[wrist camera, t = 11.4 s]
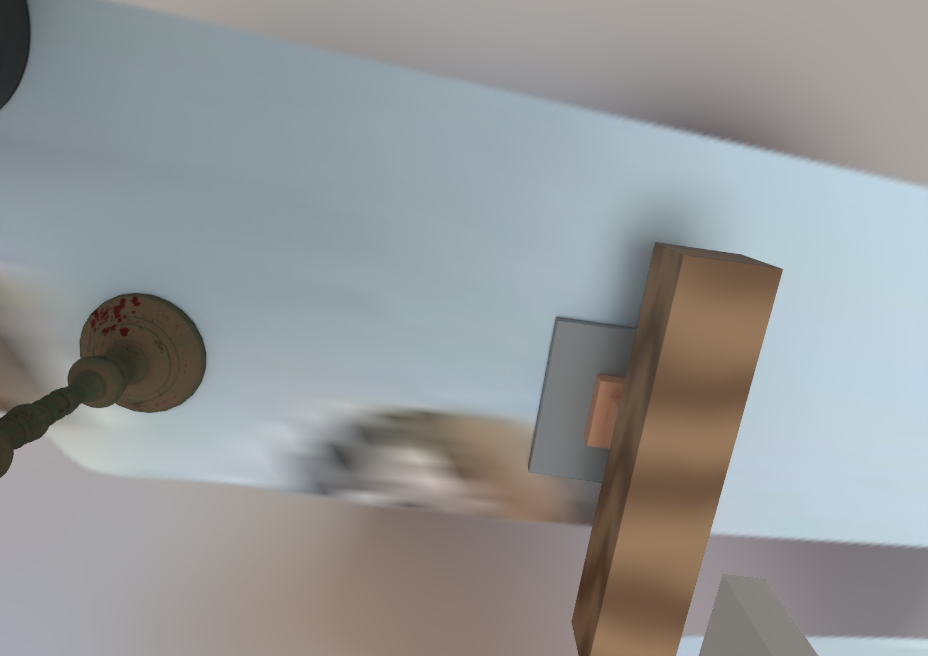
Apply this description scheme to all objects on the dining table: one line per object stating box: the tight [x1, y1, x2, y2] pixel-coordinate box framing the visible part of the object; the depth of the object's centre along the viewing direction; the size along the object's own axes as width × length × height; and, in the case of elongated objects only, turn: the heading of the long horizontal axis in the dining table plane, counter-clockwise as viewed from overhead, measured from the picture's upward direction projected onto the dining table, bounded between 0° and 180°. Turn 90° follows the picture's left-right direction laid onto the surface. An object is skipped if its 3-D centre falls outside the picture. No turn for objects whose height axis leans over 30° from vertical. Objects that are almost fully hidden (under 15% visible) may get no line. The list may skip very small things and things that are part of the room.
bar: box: [572, 242, 783, 656], centre depth 37 cm, size 26×5×5 cm, turn 172°
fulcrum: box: [528, 317, 636, 483], centre depth 43 cm, size 12×12×8 cm
